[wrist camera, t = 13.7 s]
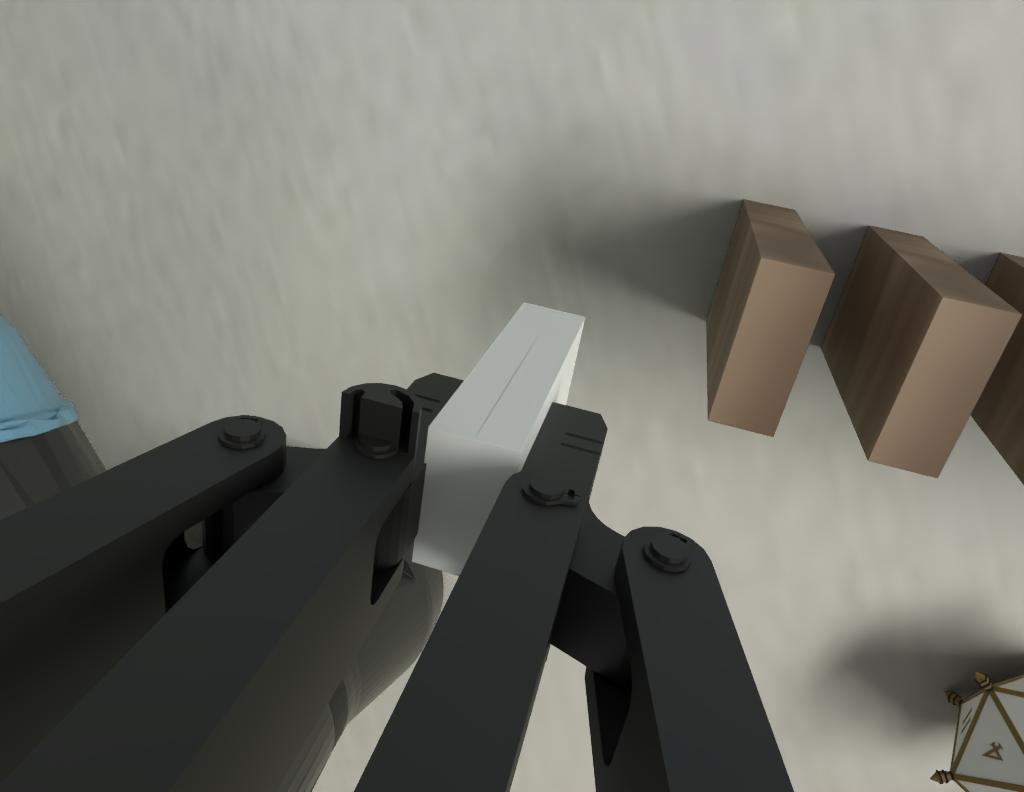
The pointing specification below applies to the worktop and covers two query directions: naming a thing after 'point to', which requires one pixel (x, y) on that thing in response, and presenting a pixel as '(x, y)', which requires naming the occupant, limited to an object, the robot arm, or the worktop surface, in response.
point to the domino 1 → (763, 317)
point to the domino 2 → (913, 349)
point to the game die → (989, 738)
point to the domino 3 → (1006, 372)
